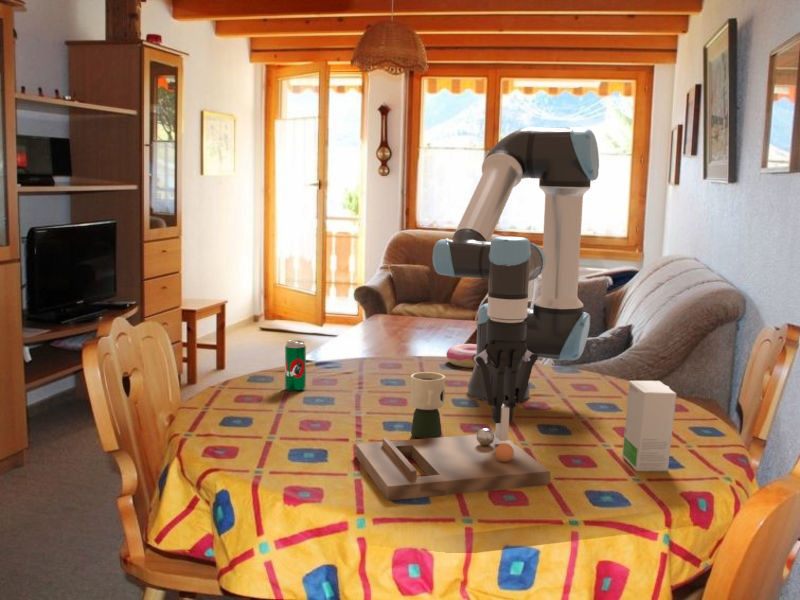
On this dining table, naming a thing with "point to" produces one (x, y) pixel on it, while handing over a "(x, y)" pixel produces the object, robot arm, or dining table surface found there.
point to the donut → (462, 355)
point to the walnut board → (446, 467)
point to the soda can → (295, 365)
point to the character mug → (427, 403)
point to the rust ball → (504, 452)
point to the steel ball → (485, 436)
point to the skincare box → (649, 425)
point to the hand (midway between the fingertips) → (501, 438)
